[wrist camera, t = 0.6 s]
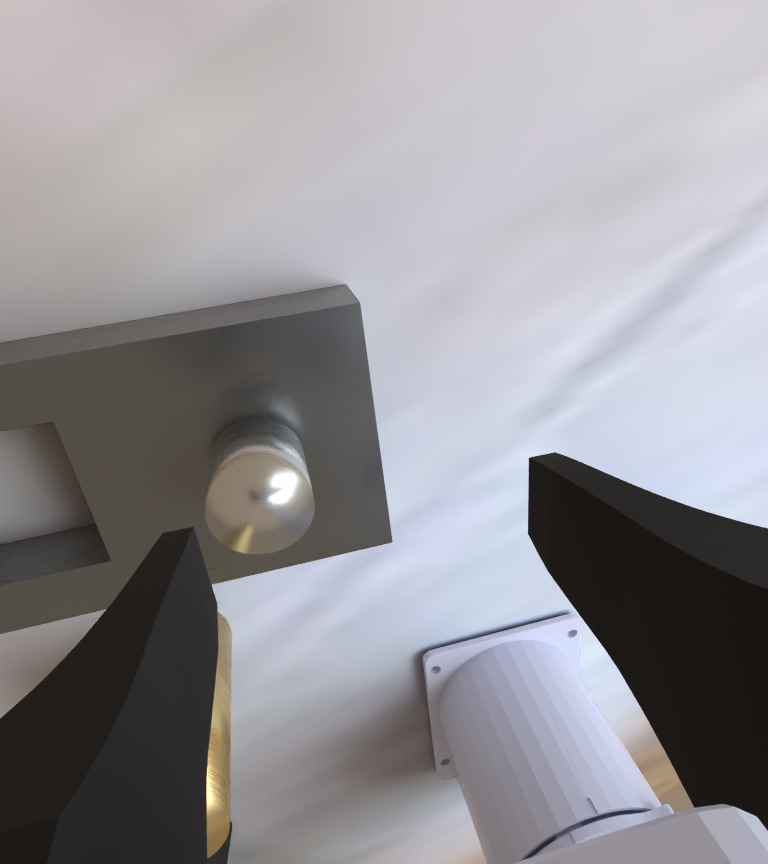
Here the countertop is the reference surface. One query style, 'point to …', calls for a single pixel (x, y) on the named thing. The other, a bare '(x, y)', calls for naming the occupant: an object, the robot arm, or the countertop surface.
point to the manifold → (198, 445)
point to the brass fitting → (220, 746)
